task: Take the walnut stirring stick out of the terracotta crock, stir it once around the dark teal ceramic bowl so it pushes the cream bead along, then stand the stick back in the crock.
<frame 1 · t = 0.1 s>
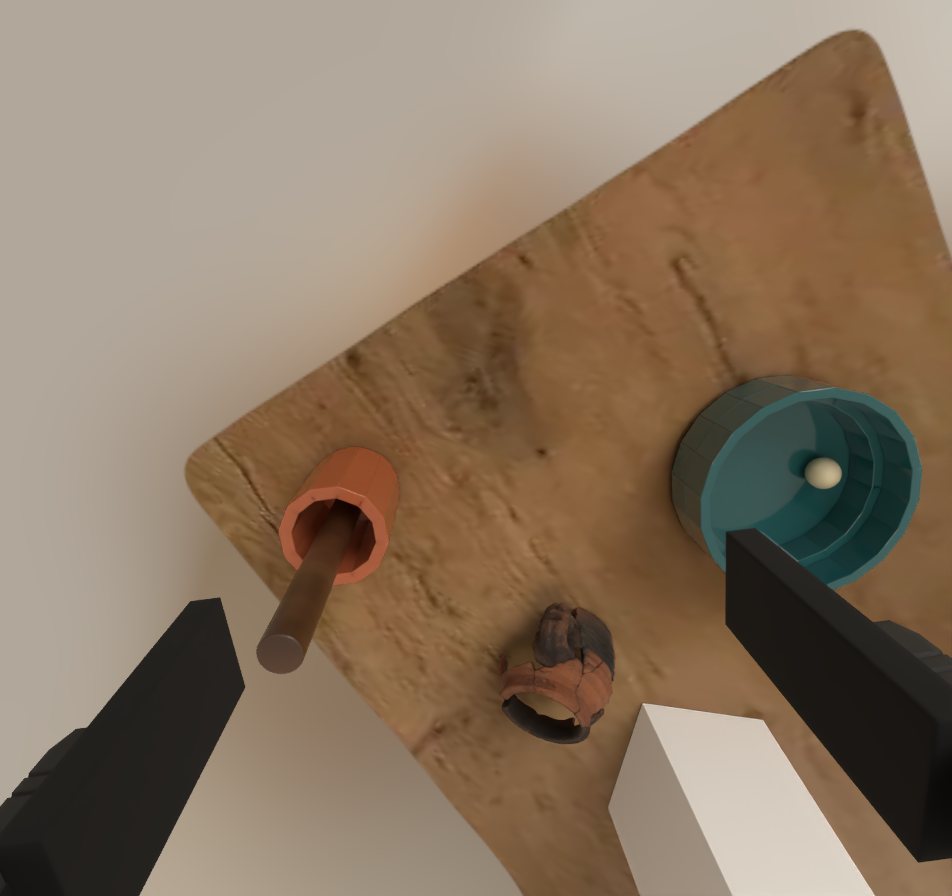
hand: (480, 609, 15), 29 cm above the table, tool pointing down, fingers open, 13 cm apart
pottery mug: (552, 640, 49), on the table
bead: (813, 468, 44), point 1 cm above the table, touching bowl
milk: (682, 762, 53), on the table
bowl: (765, 471, 45), on the table
crock: (356, 487, 44), on the table
stirring stick: (355, 490, 43), point 1 cm above the table, touching crock
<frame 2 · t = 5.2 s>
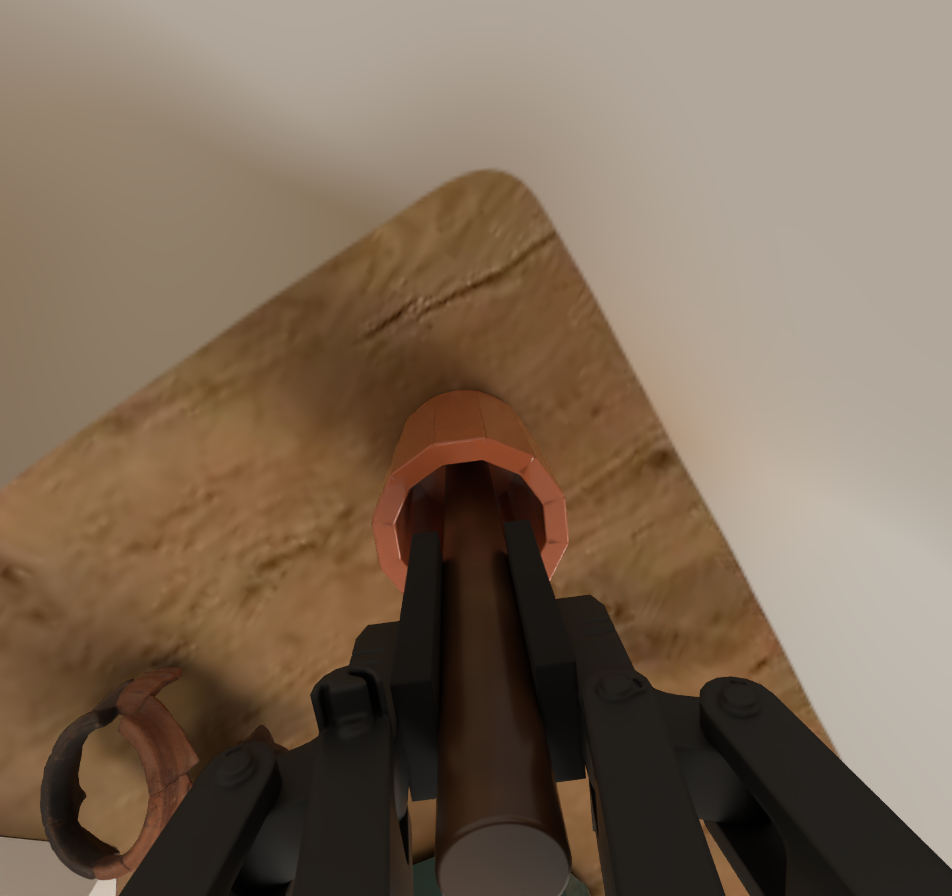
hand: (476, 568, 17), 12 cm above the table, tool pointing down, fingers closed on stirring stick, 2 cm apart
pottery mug: (213, 728, 32), on the table
crock: (464, 456, 28), on the table
stirring stick: (466, 459, 27), point 1 cm above the table, touching gripper
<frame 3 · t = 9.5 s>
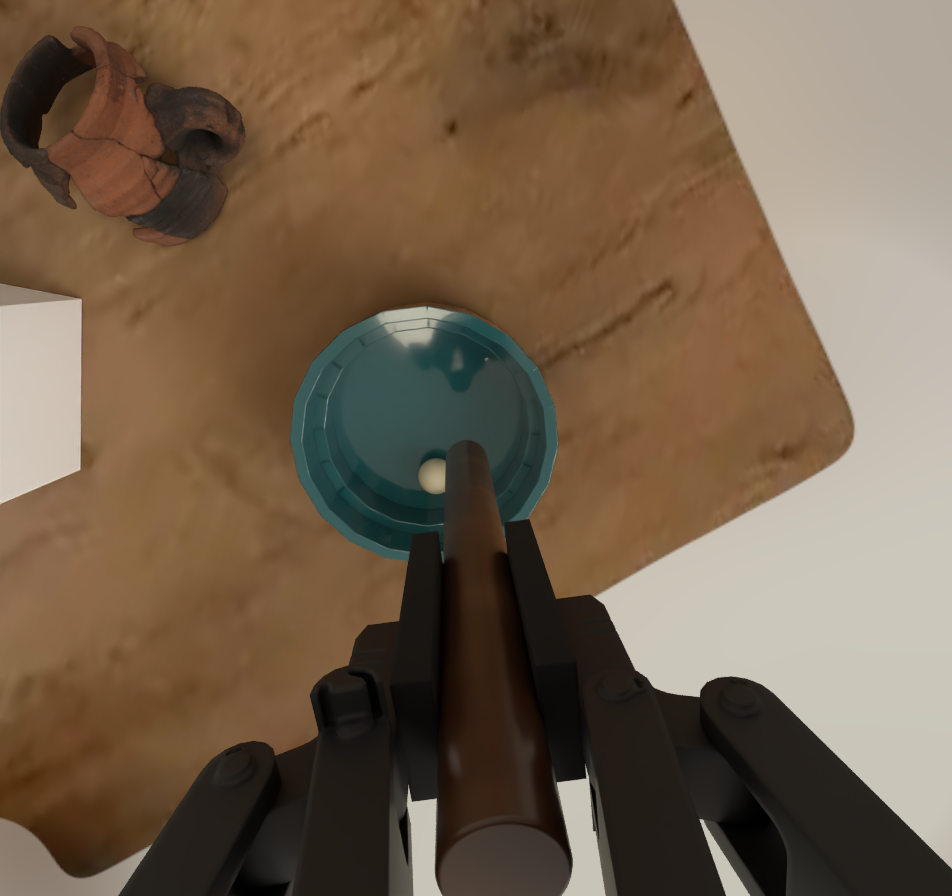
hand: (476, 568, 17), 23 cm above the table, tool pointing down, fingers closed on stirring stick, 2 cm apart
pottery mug: (169, 155, 34), on the table
bead: (436, 470, 39), point 1 cm above the table, touching bowl
bowl: (429, 419, 39), on the table
stirring stick: (466, 459, 27), point 12 cm above the table, touching gripper
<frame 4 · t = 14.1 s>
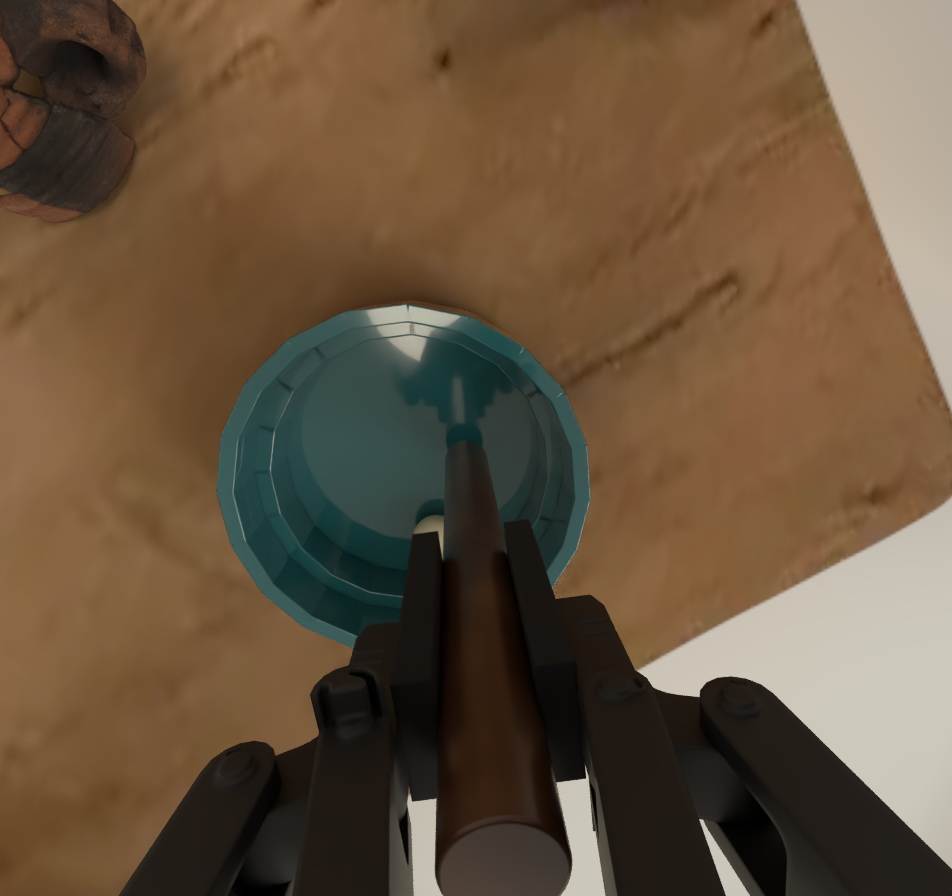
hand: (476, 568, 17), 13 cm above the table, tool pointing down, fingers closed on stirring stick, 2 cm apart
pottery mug: (53, 96, 25), on the table
bead: (426, 522, 30), point 1 cm above the table, tilted 36°, touching bowl
bowl: (415, 454, 29), on the table
stirring stick: (466, 459, 27), point 2 cm above the table, touching gripper
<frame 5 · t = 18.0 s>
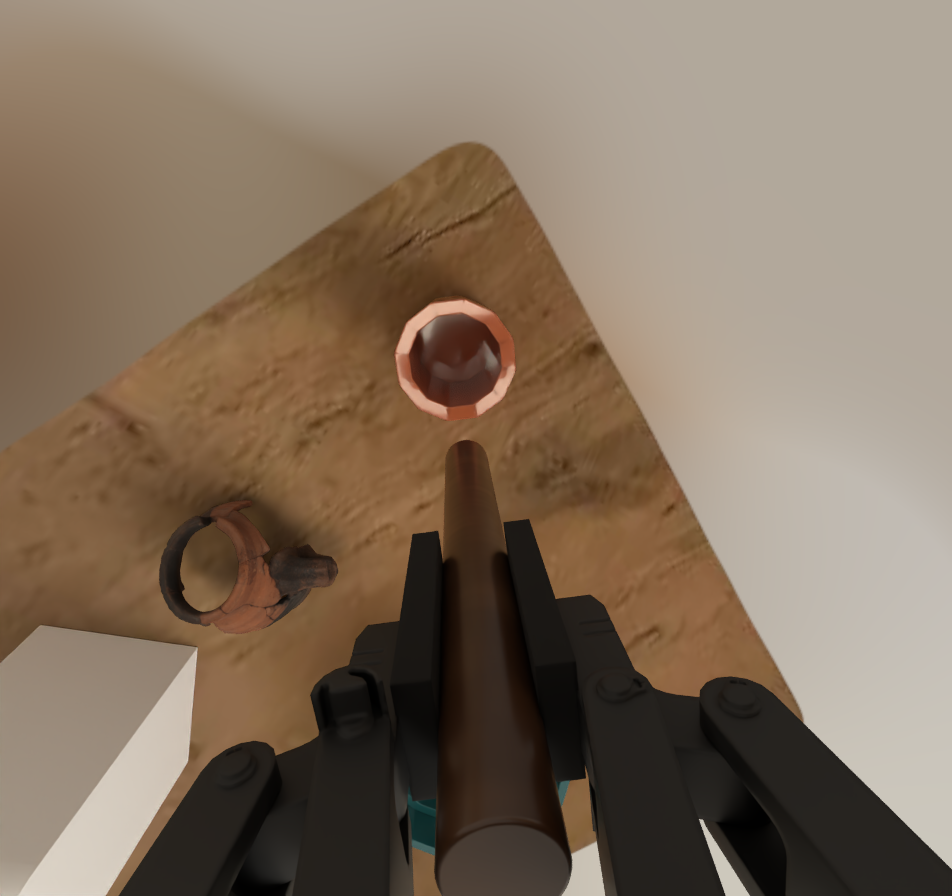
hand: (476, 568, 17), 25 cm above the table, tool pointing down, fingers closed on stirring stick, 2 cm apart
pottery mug: (271, 551, 44), on the table
milk: (118, 694, 47), on the table
bowl: (466, 722, 49), on the table
crock: (454, 344, 40), on the table
stirring stick: (466, 459, 27), point 14 cm above the table, touching gripper
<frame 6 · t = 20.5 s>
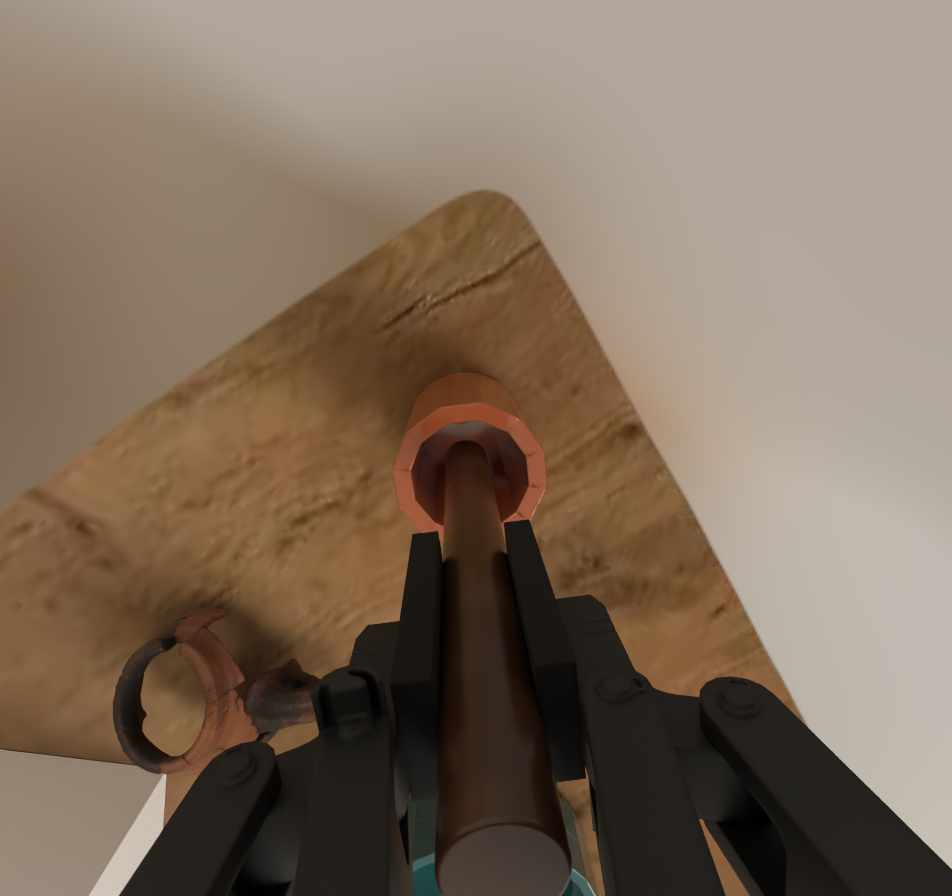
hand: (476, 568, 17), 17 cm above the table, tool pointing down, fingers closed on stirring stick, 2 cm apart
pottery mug: (250, 663, 37), on the table
milk: (76, 821, 40), on the table
bowl: (479, 846, 42), on the table
crock: (465, 427, 33), on the table
stirring stick: (466, 459, 27), point 6 cm above the table, touching gripper
when the fingers open (11 cm above the table, at t = 22.2 s): stirring stick stays where it is, resting on crock.
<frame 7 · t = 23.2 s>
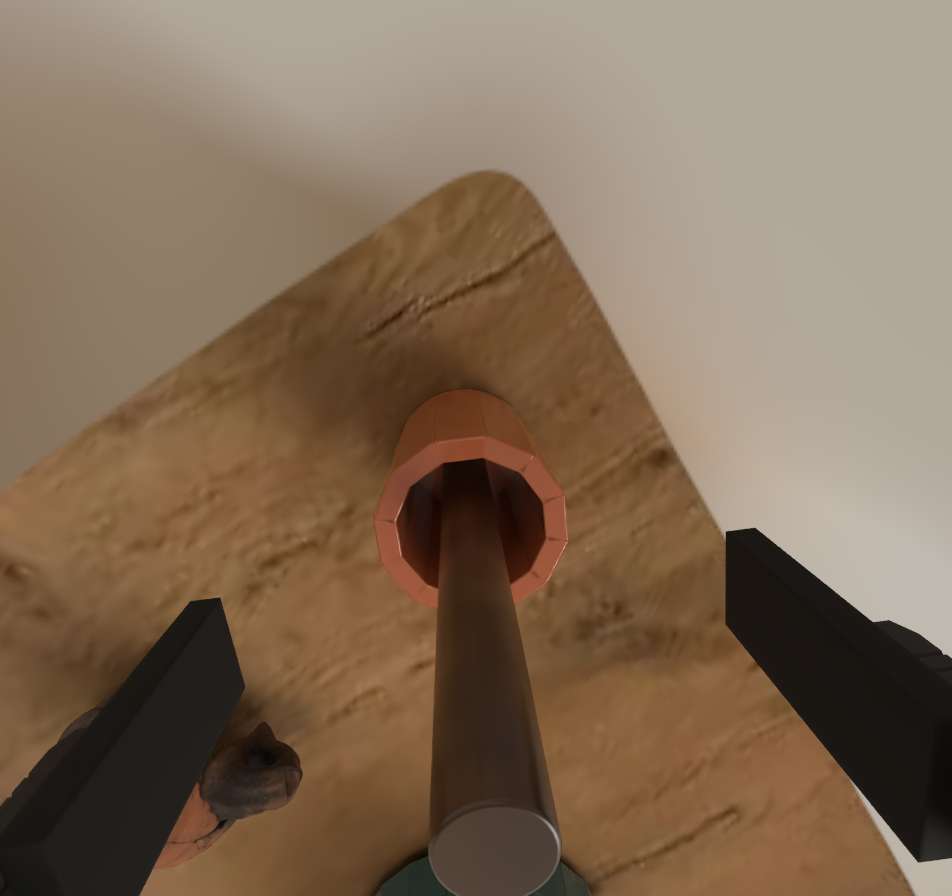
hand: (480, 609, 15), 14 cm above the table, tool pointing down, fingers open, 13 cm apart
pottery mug: (215, 725, 32), on the table
crock: (465, 454, 28), on the table
stirring stick: (463, 457, 28), point 1 cm above the table, touching crock
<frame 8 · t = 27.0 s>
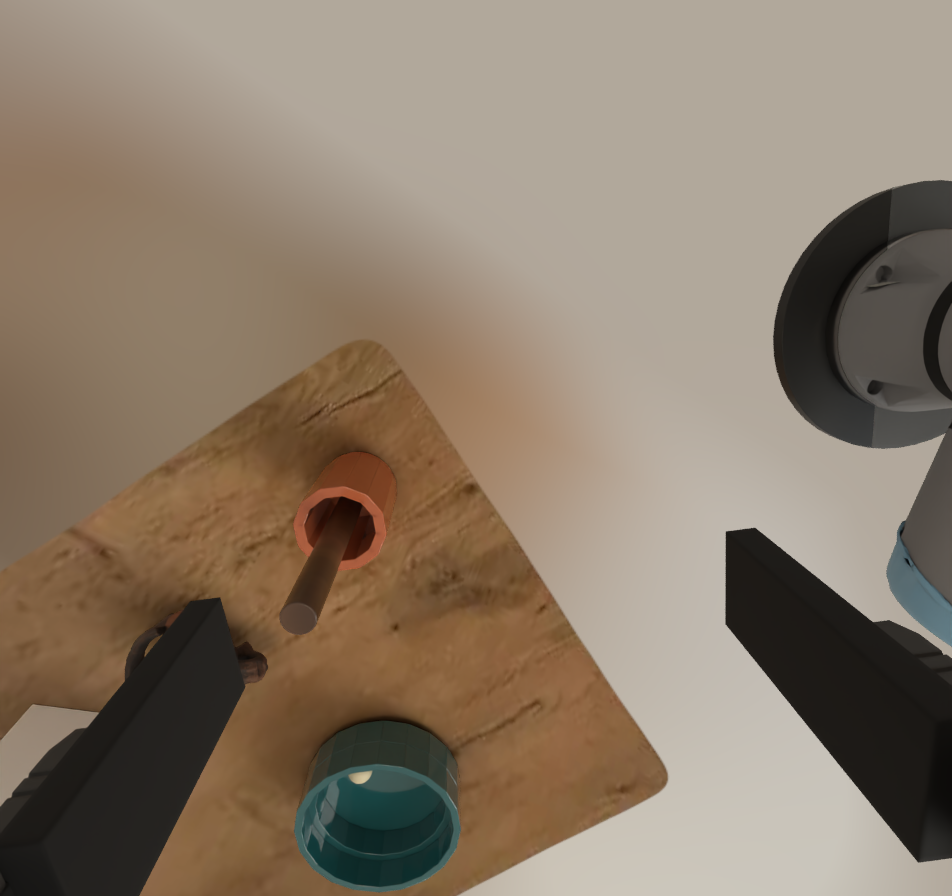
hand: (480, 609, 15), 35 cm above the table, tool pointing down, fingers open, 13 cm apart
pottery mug: (218, 645, 54), on the table
bead: (356, 758, 57), point 1 cm above the table, tilted 34°, touching bowl
milk: (97, 757, 57), on the table
bowl: (385, 777, 59), on the table
crock: (358, 487, 50), on the table
stirring stick: (356, 489, 50), point 1 cm above the table, touching crock
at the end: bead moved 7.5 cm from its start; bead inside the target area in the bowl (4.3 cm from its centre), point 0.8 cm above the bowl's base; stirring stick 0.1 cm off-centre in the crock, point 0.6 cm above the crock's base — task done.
